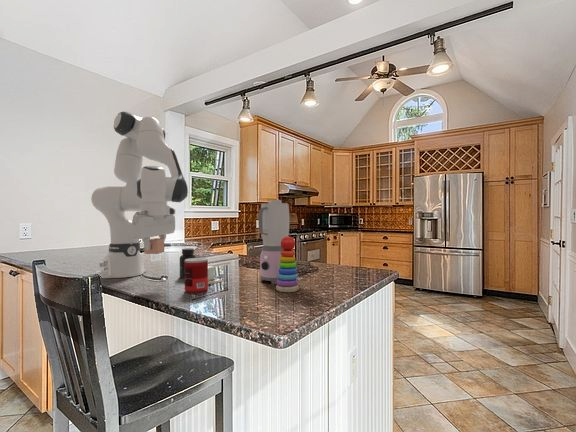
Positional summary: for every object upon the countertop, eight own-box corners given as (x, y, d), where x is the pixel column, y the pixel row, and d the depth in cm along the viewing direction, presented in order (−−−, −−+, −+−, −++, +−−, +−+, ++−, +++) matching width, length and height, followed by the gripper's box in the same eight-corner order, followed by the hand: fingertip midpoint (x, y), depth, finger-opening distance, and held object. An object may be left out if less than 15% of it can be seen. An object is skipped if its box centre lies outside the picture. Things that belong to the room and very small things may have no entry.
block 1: (151, 251, 118) (151, 238, 118) (164, 251, 118) (164, 238, 117) (144, 253, 113) (144, 239, 113) (157, 254, 113) (157, 240, 112)
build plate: (189, 282, 123) (189, 280, 123) (206, 279, 129) (206, 276, 129) (204, 285, 117) (204, 283, 117) (221, 281, 124) (221, 279, 124)
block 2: (196, 280, 122) (196, 267, 122) (204, 278, 126) (204, 265, 126) (206, 281, 120) (206, 268, 120) (214, 279, 125) (214, 266, 125)
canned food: (211, 288, 113) (211, 257, 113) (202, 294, 105) (201, 261, 105) (191, 287, 114) (191, 257, 114) (180, 293, 106) (180, 260, 106)
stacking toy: (296, 293, 105) (296, 237, 104) (273, 292, 106) (273, 237, 106) (300, 288, 112) (300, 235, 112) (278, 287, 114) (278, 235, 114)
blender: (273, 276, 133) (273, 201, 133) (297, 279, 126) (296, 200, 126) (247, 283, 121) (247, 200, 121) (271, 287, 114) (271, 198, 113)
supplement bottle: (176, 278, 131) (175, 249, 131) (185, 275, 137) (185, 247, 137) (190, 279, 129) (190, 250, 129) (199, 276, 135) (199, 248, 135)
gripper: (141, 211, 104) (142, 253, 105) (178, 209, 124) (178, 244, 124) (125, 211, 105) (126, 252, 106) (164, 209, 125) (164, 244, 126)
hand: (154, 248), depth 115 cm, fingers closed on block 1, 5 cm apart
